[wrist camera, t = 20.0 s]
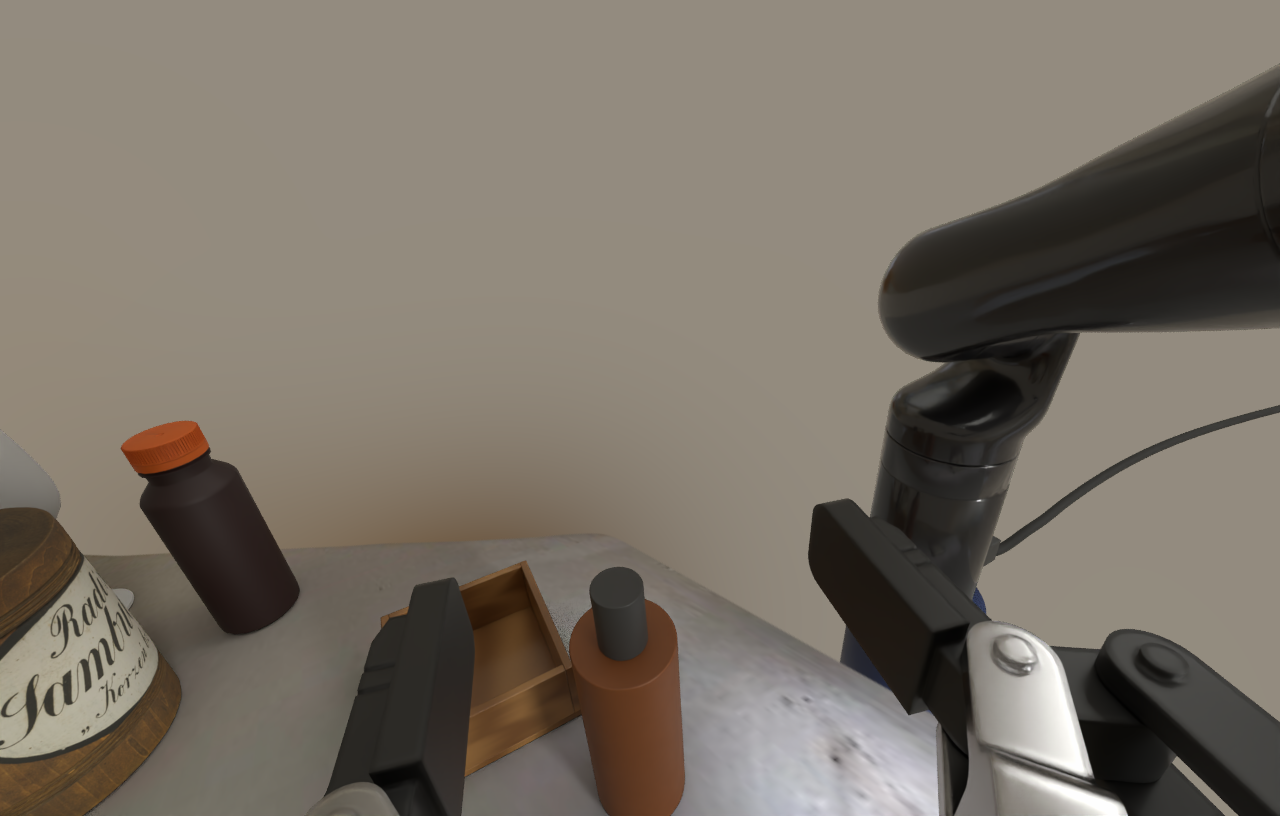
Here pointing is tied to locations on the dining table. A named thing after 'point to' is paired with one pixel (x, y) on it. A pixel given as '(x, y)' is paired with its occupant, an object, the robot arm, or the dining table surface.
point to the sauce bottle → (630, 696)
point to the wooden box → (513, 666)
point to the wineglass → (32, 489)
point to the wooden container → (70, 676)
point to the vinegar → (211, 527)
